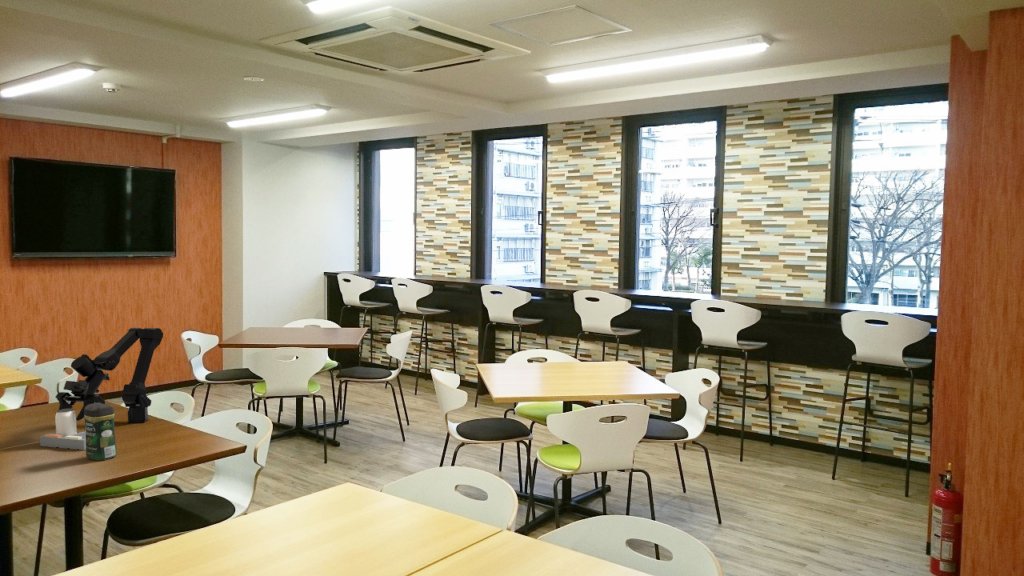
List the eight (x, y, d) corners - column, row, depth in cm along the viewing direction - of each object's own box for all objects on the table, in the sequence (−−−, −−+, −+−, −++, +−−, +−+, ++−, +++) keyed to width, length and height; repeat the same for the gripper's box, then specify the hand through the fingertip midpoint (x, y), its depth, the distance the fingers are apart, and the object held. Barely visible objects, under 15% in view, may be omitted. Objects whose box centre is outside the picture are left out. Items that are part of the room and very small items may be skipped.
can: (75, 444, 270) (73, 411, 269) (54, 445, 267) (53, 413, 266) (78, 439, 276) (77, 407, 275) (58, 441, 273) (57, 409, 273)
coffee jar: (82, 458, 251) (79, 404, 250) (106, 452, 258) (103, 399, 256) (96, 462, 246) (93, 407, 244) (120, 457, 252) (117, 403, 251)
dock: (66, 438, 277) (65, 427, 277) (108, 442, 271) (108, 430, 271) (40, 445, 267) (39, 434, 267) (84, 450, 261) (83, 438, 261)
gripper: (58, 370, 278) (33, 406, 269) (96, 372, 273) (72, 409, 263) (77, 387, 286) (53, 422, 277) (115, 389, 281) (92, 425, 271)
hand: (67, 419), depth 272 cm, fingers open, 9 cm apart
